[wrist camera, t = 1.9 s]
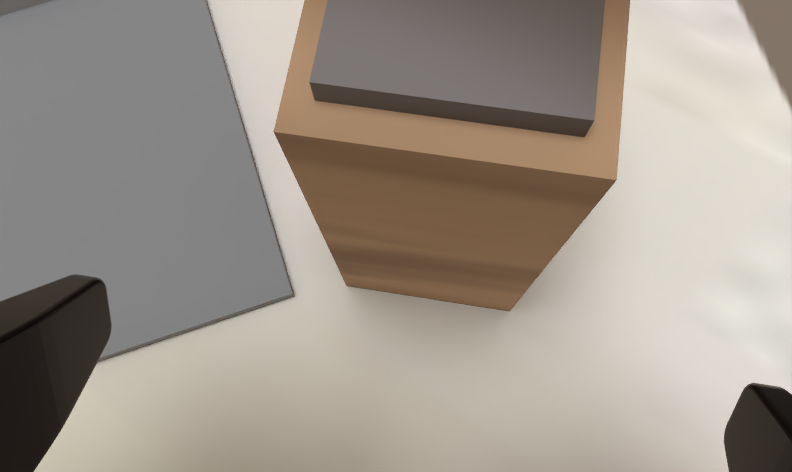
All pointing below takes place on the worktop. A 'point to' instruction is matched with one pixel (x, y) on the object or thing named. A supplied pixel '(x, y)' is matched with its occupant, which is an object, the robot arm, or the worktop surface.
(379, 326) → the worktop surface
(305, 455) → the worktop surface
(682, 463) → the worktop surface
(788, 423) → the robot arm
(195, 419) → the worktop surface
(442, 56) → the wooden tall block
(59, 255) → the grey flat slab
